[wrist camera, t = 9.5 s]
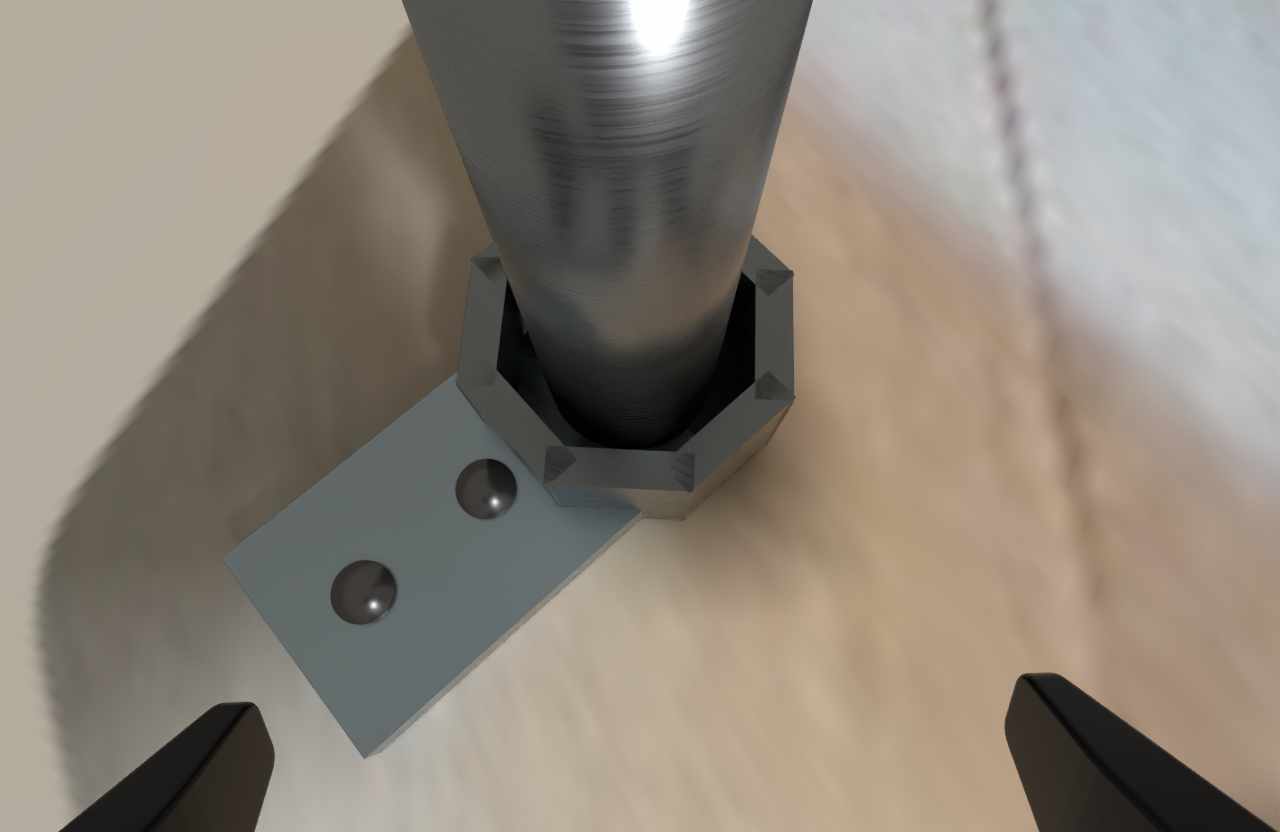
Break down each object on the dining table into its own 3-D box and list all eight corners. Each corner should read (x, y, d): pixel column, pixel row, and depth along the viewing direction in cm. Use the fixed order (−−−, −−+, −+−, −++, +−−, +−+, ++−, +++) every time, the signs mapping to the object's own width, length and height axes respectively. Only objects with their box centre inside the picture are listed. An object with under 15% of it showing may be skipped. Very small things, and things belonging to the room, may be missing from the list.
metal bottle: (644, 483, 17) (645, -71, 4) (515, 384, 18) (133, -371, 4) (744, 358, 18) (1029, -445, 5) (617, 268, 19) (551, -643, 5)
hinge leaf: (400, 779, 16) (335, 816, 13) (227, 540, 18) (129, 517, 14) (824, 391, 19) (864, 337, 15) (641, 213, 20) (640, 129, 17)
